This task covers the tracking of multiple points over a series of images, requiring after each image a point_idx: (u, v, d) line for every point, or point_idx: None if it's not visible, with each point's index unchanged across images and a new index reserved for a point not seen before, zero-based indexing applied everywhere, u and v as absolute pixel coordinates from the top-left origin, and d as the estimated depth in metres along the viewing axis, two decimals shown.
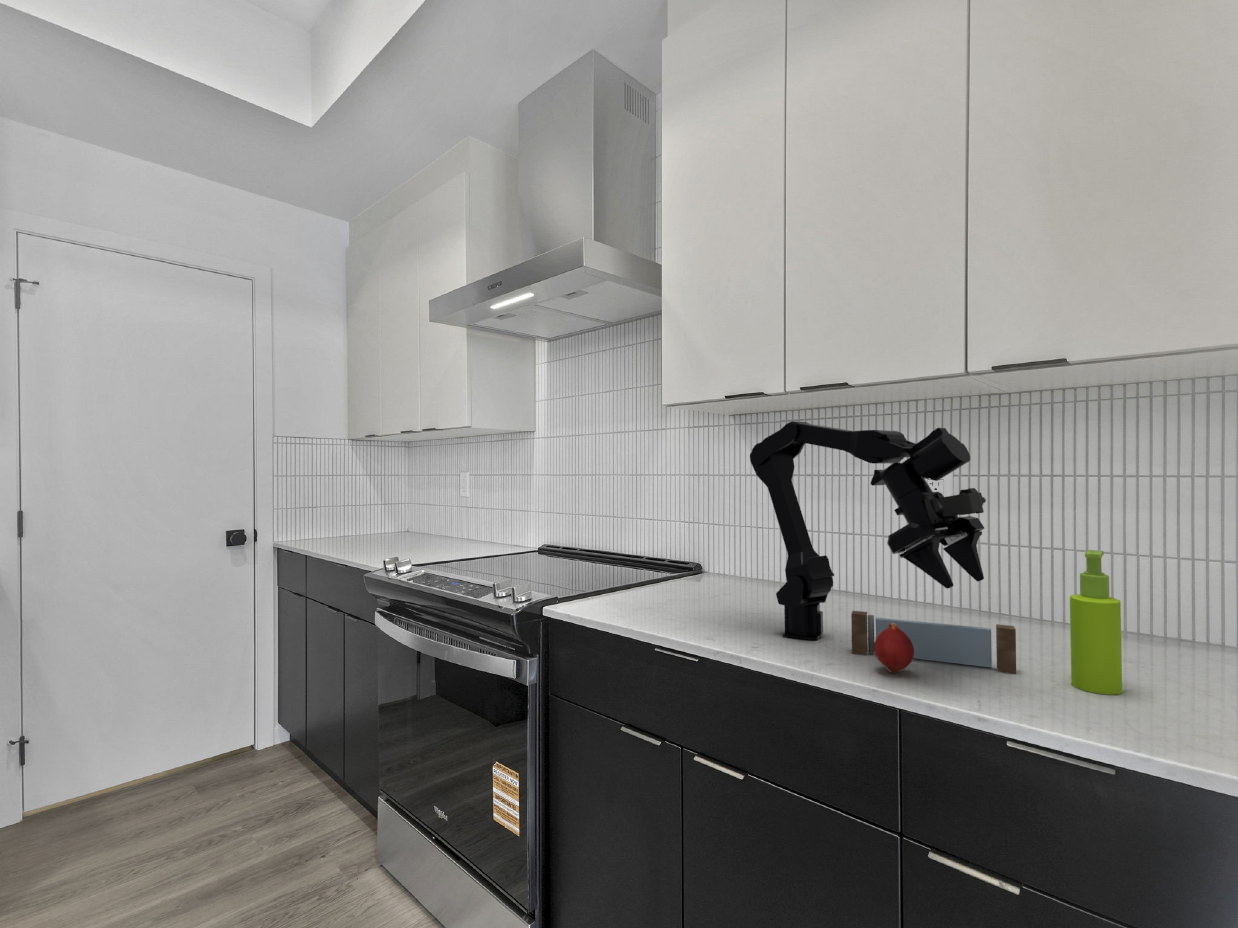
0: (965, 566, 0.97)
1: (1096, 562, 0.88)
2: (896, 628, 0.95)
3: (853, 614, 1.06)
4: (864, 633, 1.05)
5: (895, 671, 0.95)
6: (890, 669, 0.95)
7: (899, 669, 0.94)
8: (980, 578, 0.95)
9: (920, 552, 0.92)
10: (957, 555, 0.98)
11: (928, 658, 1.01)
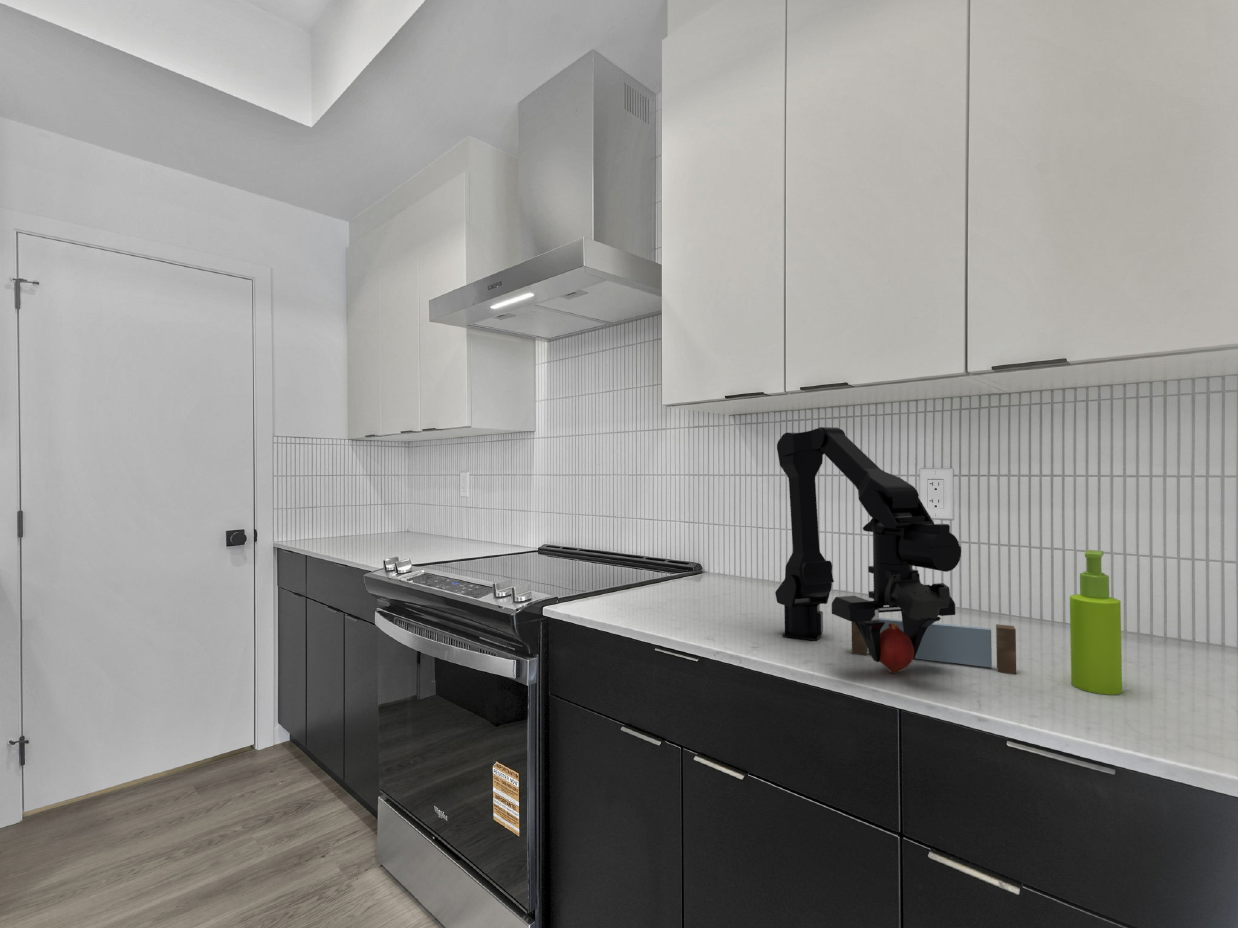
0: None
1: (1096, 562, 0.88)
2: (896, 628, 0.95)
3: None
4: None
5: (895, 671, 0.95)
6: (890, 669, 0.95)
7: (899, 669, 0.94)
8: None
9: None
10: (906, 625, 0.98)
11: (928, 658, 1.01)
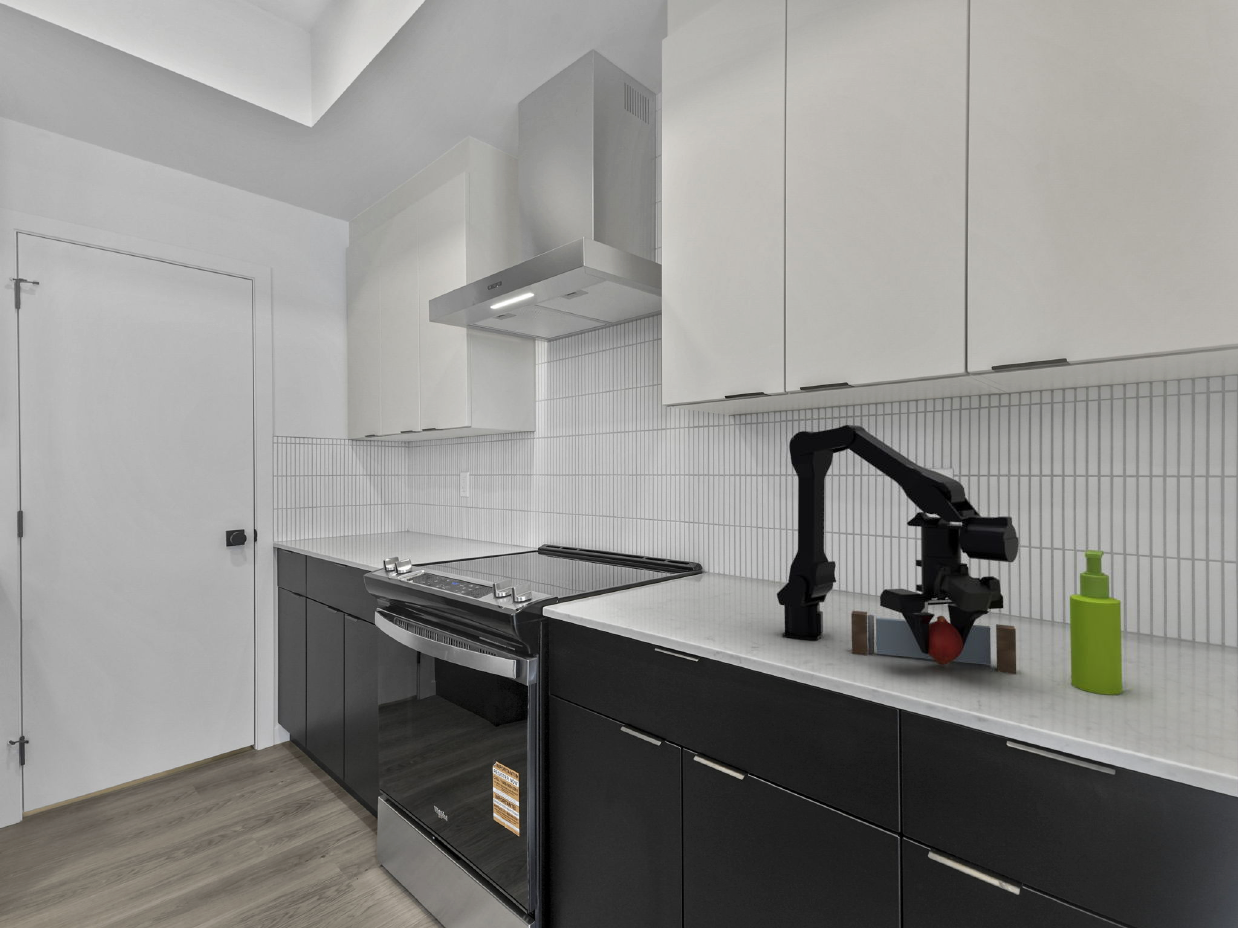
0: None
1: (1096, 562, 0.88)
2: (945, 621, 0.97)
3: (853, 614, 1.06)
4: (864, 633, 1.05)
5: (944, 663, 0.96)
6: (938, 661, 0.96)
7: (948, 661, 0.96)
8: None
9: None
10: (953, 618, 0.99)
11: (928, 657, 1.02)
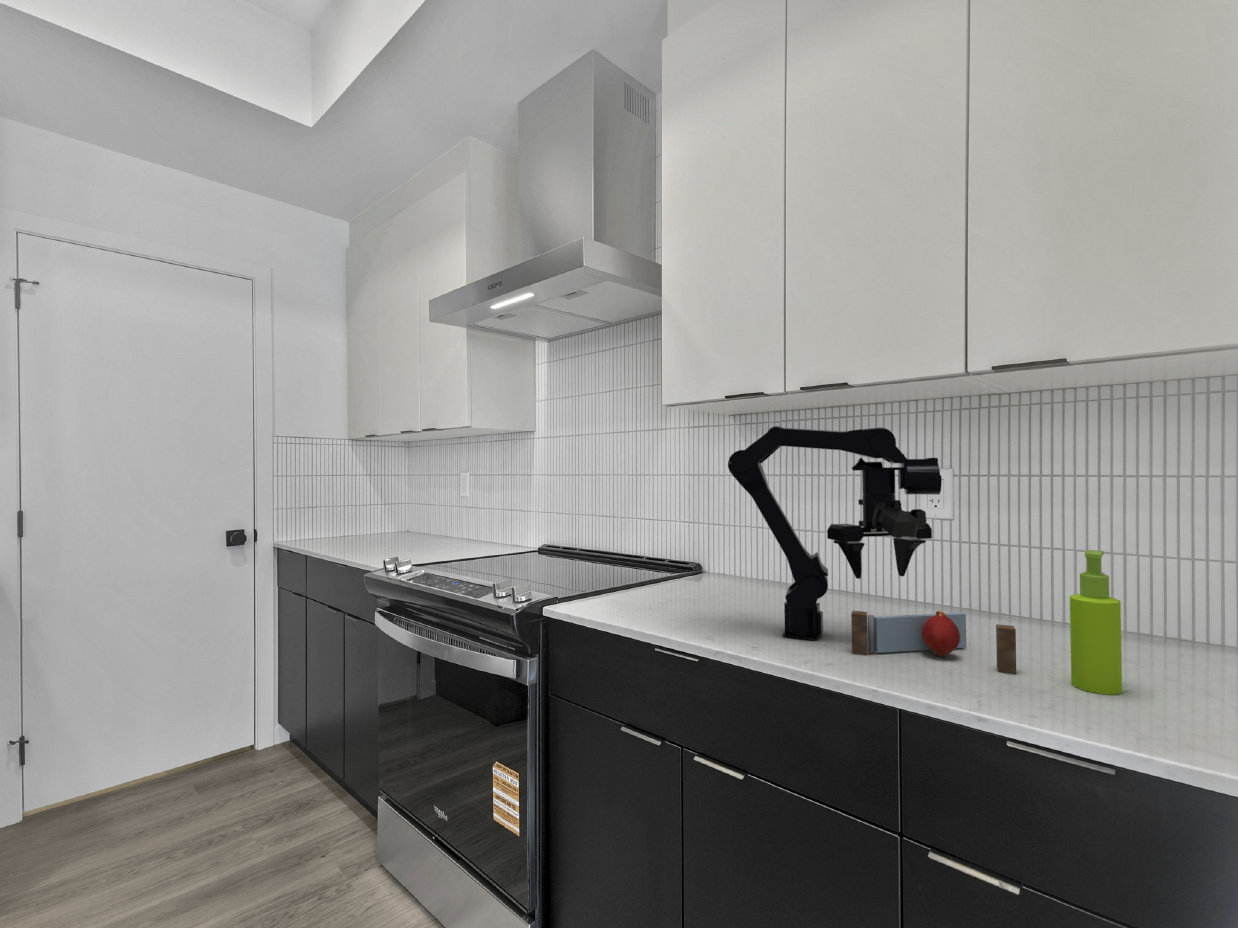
0: (897, 560, 1.15)
1: (1096, 562, 0.88)
2: (943, 615, 1.03)
3: (853, 614, 1.06)
4: (864, 633, 1.05)
5: (942, 655, 1.03)
6: (937, 653, 1.03)
7: (946, 653, 1.02)
8: (901, 574, 1.14)
9: None
10: (897, 549, 1.16)
11: (920, 649, 1.06)
